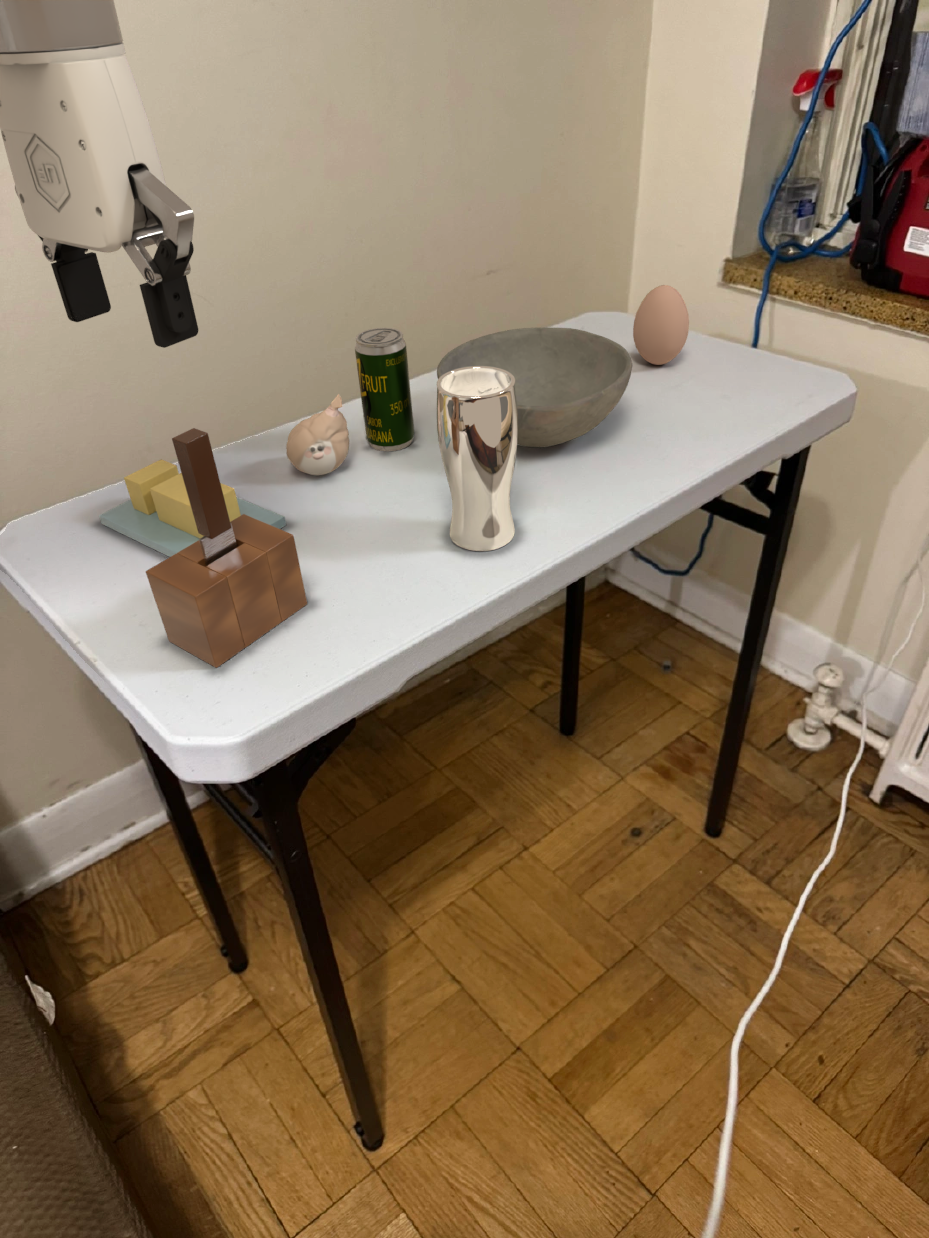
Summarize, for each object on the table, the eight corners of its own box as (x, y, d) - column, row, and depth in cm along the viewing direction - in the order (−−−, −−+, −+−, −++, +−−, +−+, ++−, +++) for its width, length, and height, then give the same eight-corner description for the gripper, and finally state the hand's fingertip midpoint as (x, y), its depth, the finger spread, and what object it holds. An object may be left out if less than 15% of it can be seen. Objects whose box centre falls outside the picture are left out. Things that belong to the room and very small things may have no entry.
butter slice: (148, 515, 85) (138, 484, 83) (133, 508, 86) (123, 477, 84) (185, 496, 88) (176, 465, 85) (170, 489, 89) (161, 458, 87)
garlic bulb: (340, 486, 89) (329, 414, 85) (282, 483, 91) (268, 412, 86) (359, 457, 95) (350, 387, 90) (304, 454, 96) (292, 385, 91)
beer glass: (431, 544, 80) (418, 390, 71) (466, 508, 85) (458, 360, 76) (499, 561, 77) (494, 404, 68) (531, 523, 82) (531, 371, 73)
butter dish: (205, 574, 78) (203, 565, 77) (101, 524, 86) (98, 515, 85) (286, 525, 84) (284, 516, 83) (182, 482, 92) (179, 473, 91)
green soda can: (383, 427, 100) (371, 324, 93) (423, 435, 98) (414, 330, 91) (357, 447, 96) (343, 342, 89) (399, 456, 94) (387, 348, 87)
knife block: (216, 668, 68) (194, 596, 63) (168, 641, 71) (144, 571, 66) (307, 604, 74) (293, 534, 69) (259, 581, 77) (243, 513, 72)
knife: (232, 635, 71) (179, 446, 60) (219, 628, 72) (165, 441, 61) (259, 616, 73) (213, 430, 62) (246, 610, 73) (199, 425, 63)
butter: (205, 541, 80) (196, 509, 78) (159, 520, 84) (149, 488, 82) (242, 520, 83) (234, 488, 81) (195, 500, 87) (187, 469, 85)
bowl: (667, 444, 93) (674, 373, 88) (495, 493, 87) (492, 419, 82) (566, 378, 109) (568, 314, 104) (413, 415, 102) (407, 349, 97)
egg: (683, 375, 108) (692, 295, 102) (628, 372, 109) (634, 294, 103) (685, 354, 113) (694, 277, 107) (633, 352, 114) (638, 276, 108)
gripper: (-89, 33, 51) (14, 323, 62) (81, 35, 43) (167, 371, 53) (27, 23, 56) (104, 294, 66) (201, 23, 47) (259, 334, 58)
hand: (132, 328), depth 60 cm, fingers open, 9 cm apart
